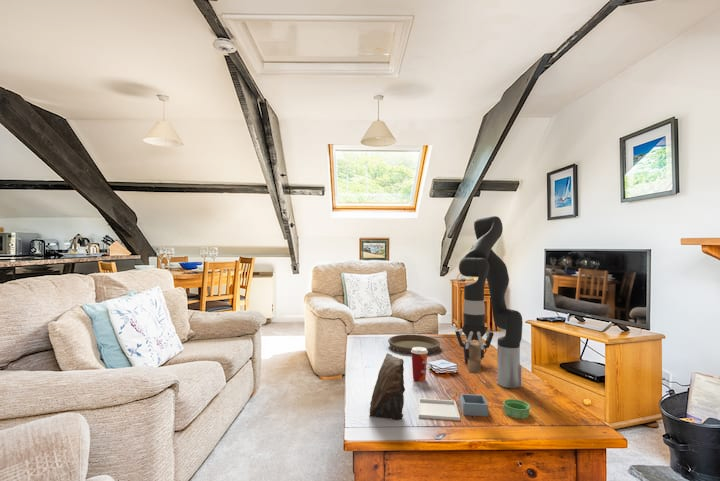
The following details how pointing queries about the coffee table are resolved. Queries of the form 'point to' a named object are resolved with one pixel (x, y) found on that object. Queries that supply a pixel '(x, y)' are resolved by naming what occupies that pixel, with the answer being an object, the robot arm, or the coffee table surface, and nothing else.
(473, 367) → the walnut peg
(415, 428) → the coffee table surface
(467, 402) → the blue-grey open box
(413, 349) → the paper cup
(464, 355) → the coffee mug
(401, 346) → the plant saucer
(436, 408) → the cream tray
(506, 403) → the ramekin
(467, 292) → the robot arm
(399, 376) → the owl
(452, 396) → the coffee table surface
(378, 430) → the coffee table surface
